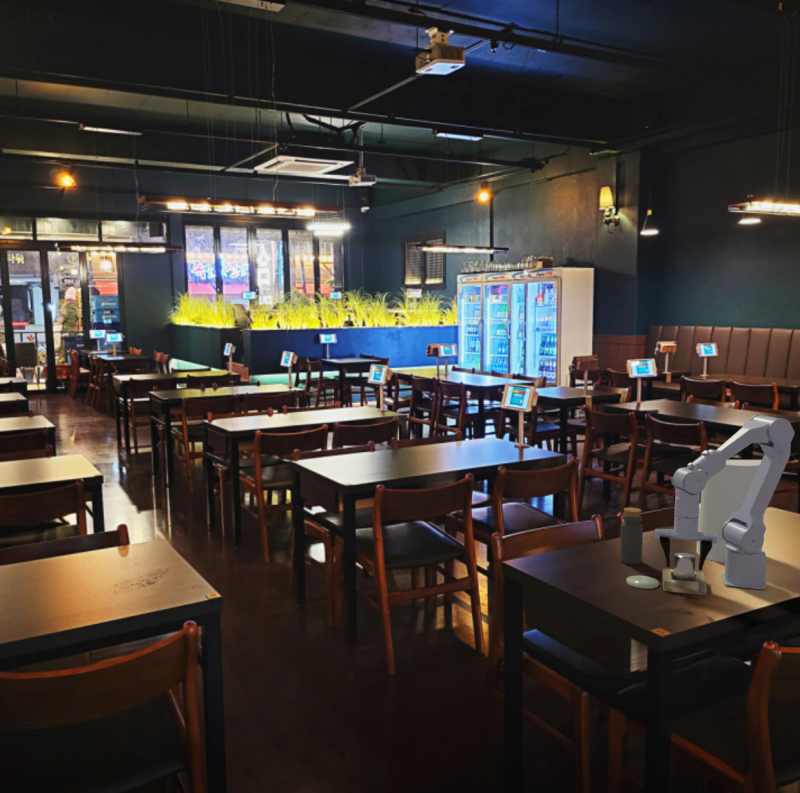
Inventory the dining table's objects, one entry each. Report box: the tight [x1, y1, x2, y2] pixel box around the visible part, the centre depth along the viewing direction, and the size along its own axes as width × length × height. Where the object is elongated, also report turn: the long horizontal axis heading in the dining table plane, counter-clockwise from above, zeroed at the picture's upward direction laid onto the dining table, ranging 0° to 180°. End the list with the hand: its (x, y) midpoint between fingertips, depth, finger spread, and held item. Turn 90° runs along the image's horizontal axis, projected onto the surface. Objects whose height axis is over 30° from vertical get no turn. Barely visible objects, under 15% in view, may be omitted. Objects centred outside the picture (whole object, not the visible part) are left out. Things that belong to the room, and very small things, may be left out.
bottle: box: [619, 507, 644, 566], centre depth 205 cm, size 6×6×15 cm
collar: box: [661, 568, 708, 596], centre depth 186 cm, size 10×10×2 cm
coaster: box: [626, 575, 660, 590], centre depth 188 cm, size 8×8×1 cm
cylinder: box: [696, 459, 765, 564], centre depth 210 cm, size 17×17×28 cm
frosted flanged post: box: [673, 552, 696, 582], centre depth 186 cm, size 5×5×8 cm
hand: (684, 567), depth 186 cm, fingers open, 7 cm apart
